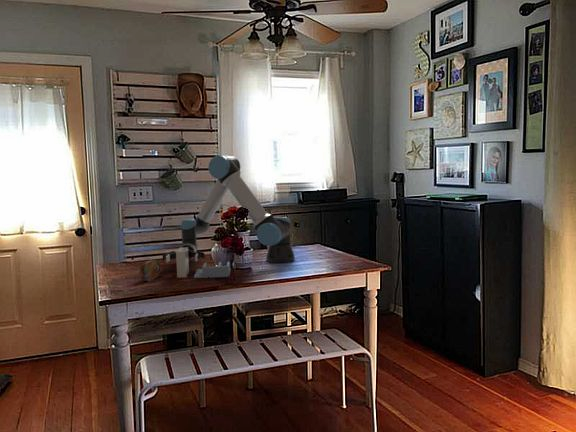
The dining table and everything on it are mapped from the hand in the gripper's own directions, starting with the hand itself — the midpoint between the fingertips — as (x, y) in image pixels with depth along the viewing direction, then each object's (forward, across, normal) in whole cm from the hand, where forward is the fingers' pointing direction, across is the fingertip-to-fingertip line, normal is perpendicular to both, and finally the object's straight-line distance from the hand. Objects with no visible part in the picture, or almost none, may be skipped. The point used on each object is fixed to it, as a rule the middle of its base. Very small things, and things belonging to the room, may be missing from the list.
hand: (181, 259), depth 233 cm
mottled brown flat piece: (+6, +14, -8) cm, 17 cm away
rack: (0, -14, -8) cm, 16 cm away
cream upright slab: (-1, 0, -8) cm, 8 cm away
